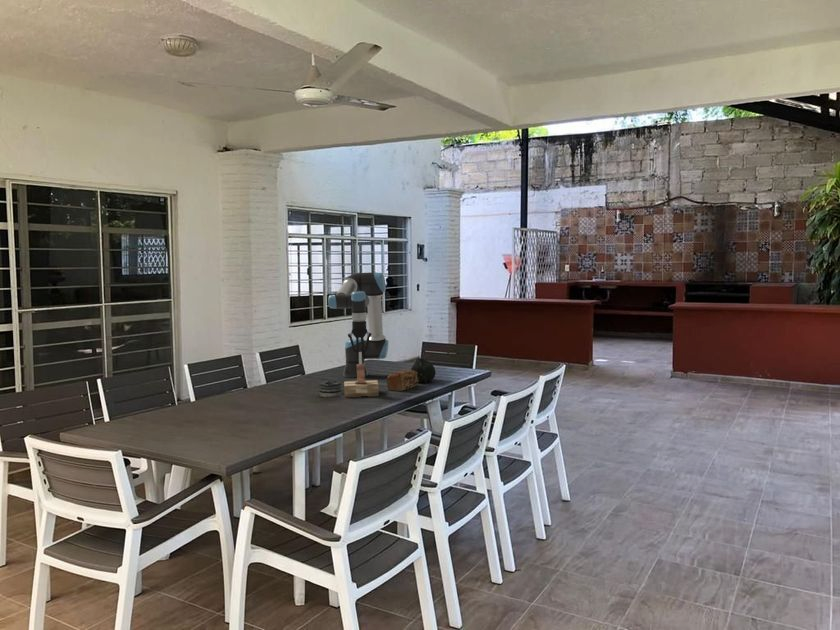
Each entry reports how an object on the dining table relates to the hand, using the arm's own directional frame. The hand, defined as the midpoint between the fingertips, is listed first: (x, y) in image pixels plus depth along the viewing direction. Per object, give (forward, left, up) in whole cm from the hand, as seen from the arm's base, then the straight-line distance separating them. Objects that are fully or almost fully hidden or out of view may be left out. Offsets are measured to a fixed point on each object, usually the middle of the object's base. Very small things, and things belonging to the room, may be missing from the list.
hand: (360, 364), depth 353 cm
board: (0, 0, -16) cm, 16 cm away
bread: (-12, +24, -17) cm, 31 cm away
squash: (-27, +37, -17) cm, 49 cm away
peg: (0, 0, -14) cm, 14 cm away
